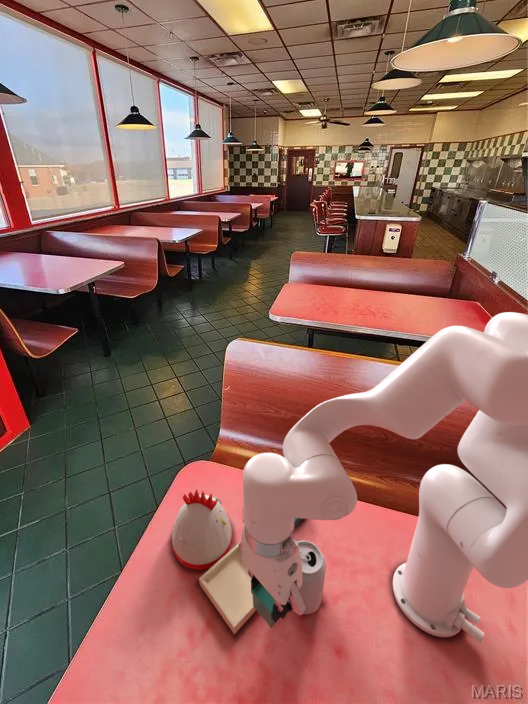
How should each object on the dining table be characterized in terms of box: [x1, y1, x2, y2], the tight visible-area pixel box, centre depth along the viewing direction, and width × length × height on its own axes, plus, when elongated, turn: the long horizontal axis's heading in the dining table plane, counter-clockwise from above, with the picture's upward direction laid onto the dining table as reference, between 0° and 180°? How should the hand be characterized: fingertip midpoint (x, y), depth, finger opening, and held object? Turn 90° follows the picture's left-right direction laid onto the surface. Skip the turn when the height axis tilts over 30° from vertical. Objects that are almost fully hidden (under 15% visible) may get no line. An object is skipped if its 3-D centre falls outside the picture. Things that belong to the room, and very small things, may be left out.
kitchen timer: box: [171, 488, 233, 571], centre depth 75 cm, size 14×14×15 cm
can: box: [297, 539, 327, 615], centre depth 65 cm, size 8×8×12 cm
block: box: [252, 583, 278, 629], centre depth 57 cm, size 4×4×4 cm
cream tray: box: [198, 541, 257, 635], centre depth 68 cm, size 11×11×2 cm
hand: (269, 600), depth 57 cm, fingers closed on block, 4 cm apart
